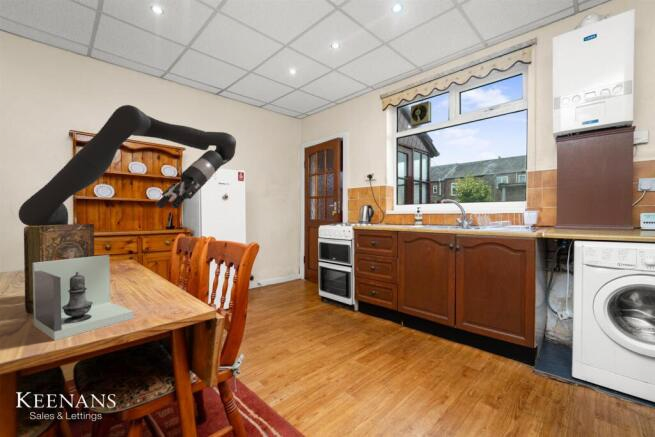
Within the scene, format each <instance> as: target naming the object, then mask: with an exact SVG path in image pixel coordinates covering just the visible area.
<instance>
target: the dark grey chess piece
mask: <svg viewBox="0 0 655 437" xmlns="http://www.w3.org/2000/svg"><path fill="white" fill-rule="evenodd" d="M75 274H76V275H75V276H72V277H71V278H70V290H68V292H69V293H70V299H69V303H68V304H67V305H65V306H63V307H62V309H64V313H65V314H66V315H67V316H72V317H69V318H67V319H66V320H64V323H76V322H81V321H85V320H88V319H90V318H91V317H92V316H91V315H88V314H86V313H88V312H89V311H90V309H91V305H92V304H93V302H90V301H87V300H86V297H85V290H87V288H85V277H84V276H82V275H78V272H76V273H75Z"/></svg>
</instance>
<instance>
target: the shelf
mask: <svg viewBox="0 0 655 437" xmlns="http://www.w3.org/2000/svg"><path fill="white" fill-rule="evenodd" d="M110 263H111V262H110V254H105V255H104V254H103V255H94V256H93V257H84V258H74V259H65V260H55V261H46V262H36V263H33V303H34V313H33V326H34V327H35V328H36V329H39V330H40V331H41V332H42V333H44V334H45V335H47V336H48V337H49V338H50V339H52V340H53V341H58V340H62V339H65V338H69V337H72V336H75V335H79V334H82V333H86V332H89V331H93V330H98V329H100V328H104V327H107V326H112V325H115V324H119V323H122V322H125V321H128V320H129V321H130V320H133V319H135V318H134V310H132V309H130V308H126V307H124V306H121V305H119V304H116V303H114V302H111V273H110V272H111V270H110V269H111V268H110V267H111V266H110ZM76 272H78V275H82V276H84V277H85V288H87V290H85V297H86V300H87V301H90V302H93V304H92V305H91V309H90V311H89V312H88V313H86V314H88V315H91V316H92V317H91V318H90V319H88V320H85V321H81V322H76V323H64V320H66V319H67V318H69V317H72V316H67V315H66V314H65V313H64V309H62V307H63V306H65V305H67V304H68V303H69V299H70V293H69V292H68V290H70V278H71V277H72V276H75V275H76V274H75V273H76Z"/></svg>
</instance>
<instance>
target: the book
mask: <svg viewBox="0 0 655 437" xmlns="http://www.w3.org/2000/svg"><path fill="white" fill-rule="evenodd" d="M94 227H95V224H94V223H71V224H69V223H68V224H67V225H42V226H28V225H25V226H24V228H23V258H24V259H23V262H24V264H23V266H24V269H23V270H24V272H23V273H24V308H25V313H27V314H34V303H33V263H36V262H46V261H55V260H65V259H74V258H84V257H93V256H95V228H94Z"/></svg>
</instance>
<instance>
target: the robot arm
mask: <svg viewBox="0 0 655 437" xmlns="http://www.w3.org/2000/svg"><path fill="white" fill-rule="evenodd" d="M131 136H134V137H145V138H154V139H159V140H164V141H168V142H169V141H170V142H172V143H176V144H179V145H181V146H184V147H185V146H186V147H189V148H193V149H198V150H199V151H200V150H201V151H205V152H204V153H203V154H202V155H200V157H199V158H198V159H196V160H195V161H193V162H192V163H191V164H190V165H189V166H188V167H187V168H186V169H185V170H184V171H183V172H182V173H180V176H179V178H180V180H181V181H180V182H177V183H172V184H171V185H170V186H169V187H168V188H167V189H166V190H164V192H162V193H161V196H162V197H161V198H160V199H159V200H158V201H157V202H155V206H157V207H158V208H159V209H163V208H164V207H165V206H166V205H167V204H168V203H169V202H170V201H171V202H170V203H169V204H170V206H171V207H172V208H173V209H177V208H179V206H181V204H182V203H184V202H185V201H187V200H191V199H192V198H193V197H194V196H195V195H196V194H197V193H198V192H199V190H201V188H202V187H203V186H204V185H205V184H207V182H208V181H210V179H211V178H212V177H213V175H214V174H215V173H217V171H218V170H219V169H220V168H221V167H222V166H224V165H225V164H228V163H229V162H230V161H232V159H233V158H234V157H235V153H236V147H237V141H236V138H235V137H234V135H232V134H230V133H227V132H224V131H205V130H202V129H197V128H194V127H191V126H188V125H187V126H186V125H181V124H173V123H169V122H165V121H162V120H158V119H156V118H154V117H152V116H149V115H148V114H146V113H144V111H142V110H141V109H140V108H138V107H136V106H134V105H131V104H130V105H129V104H124V105H121V106H119V107H118V108H116V109H115V110H114V111H113V113H112V114H111V115H110V116H109V118H108V119H107V121H106V122H105V123H104V125H103V126H102V127H101V128H100V129H99V131H97V133H95V135H94V136H93V137H91V139H89V141H87V143H86V144H85V145H83V147H82V148H81V149H80V150H78V151H77V153H76V154H74V155H73V156H72V157H71V158H70V160H68V162H67V163H66V164H65V165H64V166H63V167H62V168H61V169H60V170H59V171H58V172H57V173H56V174H55V175H54V176H53V177H52V178H51V179H50V180H49V181H48V182H47V183H45V185H44V186H43V187H41V188H40V189H39V190H38V191H37V192H35V193H34V194H33V195H31V196H30V197H29V198H27V199H26V200H25V201H24V202H23V203H22V204H21V206H20V207H19V209H18V218H19V221H20V222H21V224H24V225H25V226H42V225H67V224H69V211H68V208H67V206H66V205H65V202H66V201H67V200H68V199H69V198H71V197H72V196H73V195H76V194H77V193H79V192H81V191H82V190H85V189H86V188H88V187H90V186H92V184H94V183H95V182H97V181H99V179H100V178H101V177H102V176H103V175H104V174H105V172H107V170H108V169H110V166H111V165H112V164H113V161H114V159H115V156H116V154H117V153H118V150H119V148H120V147H121V146H122V145H123V144H124V143H125V142H126V141H127V140H128V139H129V138H131ZM210 146H214V147H215V149H214V150H212V149H210V150H208V149H209V148H210Z"/></svg>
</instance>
